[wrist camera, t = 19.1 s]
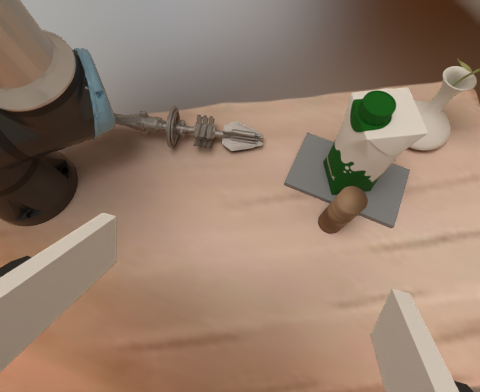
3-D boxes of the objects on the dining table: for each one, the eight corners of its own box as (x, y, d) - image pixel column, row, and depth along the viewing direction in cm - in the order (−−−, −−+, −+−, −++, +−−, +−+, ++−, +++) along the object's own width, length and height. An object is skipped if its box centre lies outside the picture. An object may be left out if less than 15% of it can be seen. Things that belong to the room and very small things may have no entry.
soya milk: (317, 158, 56) (351, 77, 38) (364, 153, 56) (420, 70, 38) (327, 200, 53) (370, 134, 34) (377, 195, 53) (447, 126, 34)
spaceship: (83, 84, 56) (61, 104, 50) (266, 111, 57) (266, 134, 51) (92, 121, 61) (74, 143, 56) (260, 145, 62) (259, 169, 57)
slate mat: (283, 184, 55) (284, 182, 54) (306, 135, 59) (307, 132, 58) (391, 228, 51) (394, 226, 51) (407, 172, 56) (409, 169, 55)
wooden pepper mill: (316, 230, 51) (337, 208, 41) (320, 209, 53) (341, 183, 43) (339, 236, 51) (366, 215, 41) (342, 214, 53) (368, 189, 42)
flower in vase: (377, 139, 59) (460, 21, 36) (395, 99, 62) (482, -31, 40) (444, 168, 56) (581, 59, 33) (459, 124, 60) (592, -1, 37)
